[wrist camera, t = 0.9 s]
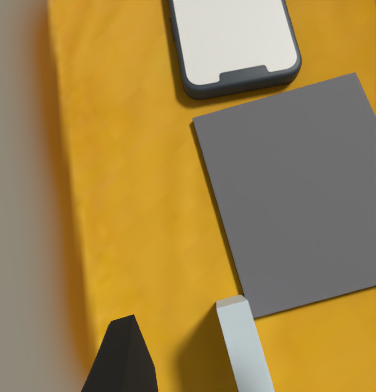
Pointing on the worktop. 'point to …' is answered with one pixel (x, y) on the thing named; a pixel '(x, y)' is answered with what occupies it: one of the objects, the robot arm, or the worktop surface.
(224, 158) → the mat
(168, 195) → the worktop surface
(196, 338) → the worktop surface
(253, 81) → the smartphone
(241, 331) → the block
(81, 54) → the worktop surface
